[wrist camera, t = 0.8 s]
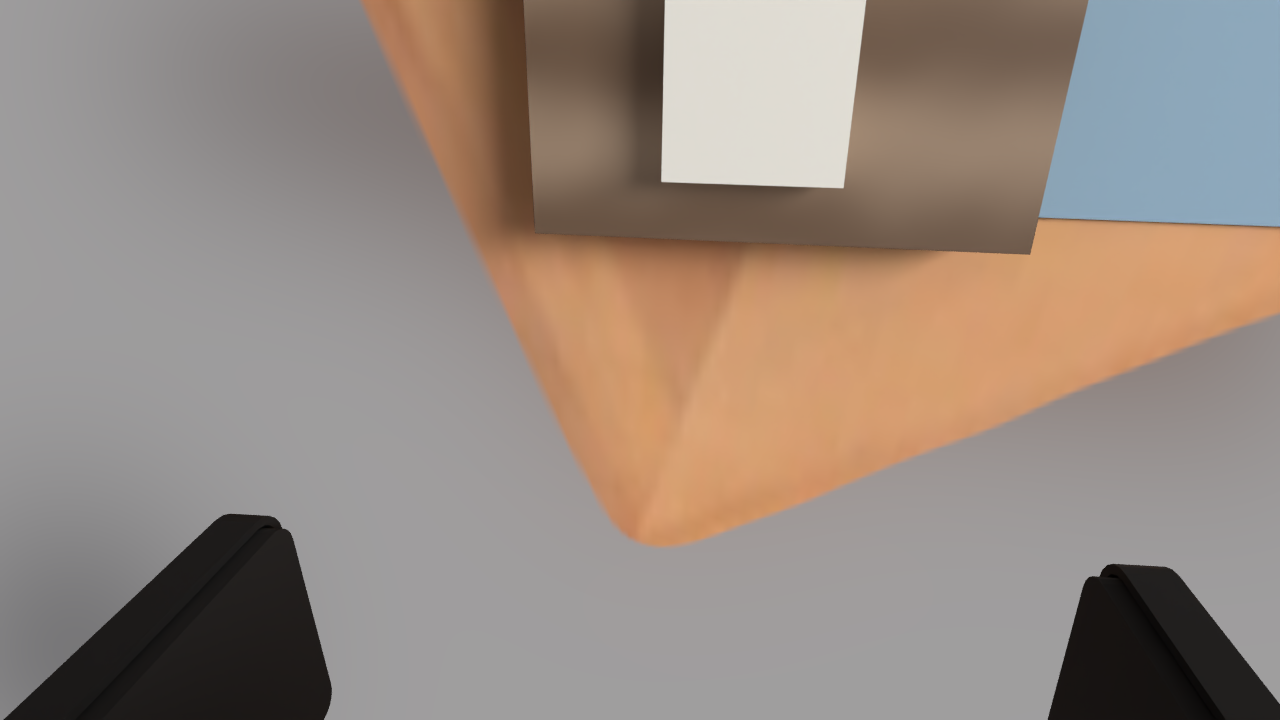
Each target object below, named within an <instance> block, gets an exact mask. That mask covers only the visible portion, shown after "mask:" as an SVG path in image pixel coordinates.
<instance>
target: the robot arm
mask: <svg viewBox="0 0 1280 720" xmlns="http://www.w3.org/2000/svg"><path fill="white" fill-rule="evenodd" d="M331 695H332V688H331V682H330V678H329V675H328V671H327V667H326V663H325V659H324V655H323V652H322V648H321V644H320V640H319V636H318V632H317V629H316V625H315V621H314V617H313V614H312V609H311V606H310V602H309V598H308V594H307V590H306V587H305V583H304V580H303V575H302V571H301V567H300V564H299V560H298V556H297V552H296V548H295V545H294V541H293V538H292V535H291V533H290V532H289V531H288V530H286V529H282V527H281V525H280V522H279V521H278V520H277V519H276V518H274V517H271V516H260V515H242V514H227V515H223V516H221V517H220V518H218V519H217V520H216V521H214V522H213V523H212V524H211V525H210V526H209V527H208V528H207V529H206V530H205V531H204V532H203V533H202V534H201V535H200V536H198V538H196V539H195V540H194V541H193V542H192V543H191V544H190V545H189V546H188V547H187V548H186V549H185V550H184V551H183V552H181V553H180V554H179V555H178V556H177V557H176V558H175V559H174V560H173V561H172V562H171V563H170V564H169V565H168V566H167V567H166V568H165V569H163V570H162V571H161V572H160V573H159V574H158V575H157V576H156V577H155V578H154V579H153V580H152V581H151V582H150V583H148V584H147V585H146V586H145V587H144V588H143V589H142V590H141V591H140V592H139V593H138V594H137V595H136V596H135V597H134V598H133V599H132V600H131V601H129V602H128V603H127V604H126V605H125V606H124V607H123V608H122V609H121V610H120V611H119V612H118V613H117V614H116V615H115V616H113V617H112V618H111V619H110V620H109V621H108V622H107V623H106V624H105V625H104V626H103V627H102V628H101V629H100V630H98V631H97V632H96V633H95V634H94V635H93V636H92V637H91V638H90V639H89V640H88V641H87V642H86V643H85V644H84V645H83V646H81V647H80V648H79V649H78V650H77V651H76V652H75V653H74V654H73V655H72V656H71V657H70V658H69V659H68V660H67V661H66V662H64V663H63V665H61V666H60V667H59V668H58V669H57V670H56V671H55V672H54V673H53V674H52V675H51V676H50V677H49V678H48V679H46V680H45V681H44V682H43V683H42V684H41V685H40V686H39V687H38V688H37V689H36V690H35V691H34V692H33V693H31V695H29V696H28V697H27V698H26V699H25V700H24V701H23V702H22V703H21V704H20V705H19V706H18V707H17V708H16V709H15V710H13V711H12V712H11V713H10V714H9V715H8V716H7V717H6V718H5V719H4V720H324V718H325V716H326V714H327V712H328V709H329V706H330V701H331ZM1048 720H1280V704H1279V703H1278V702H1277V700H1276V699H1275V698H1274V696H1273V695H1272V694H1271V692H1270V691H1269V690H1268V689H1267V687H1266V686H1265V685H1264V684H1263V682H1262V681H1261V680H1260V679H1259V677H1258V676H1257V675H1256V673H1255V672H1254V671H1253V669H1252V668H1251V667H1250V666H1249V664H1248V663H1247V662H1246V661H1245V660H1244V658H1243V657H1242V656H1241V654H1240V653H1239V652H1238V651H1237V649H1236V648H1235V647H1234V645H1233V644H1232V643H1231V641H1230V640H1229V639H1228V638H1227V636H1226V635H1225V634H1224V633H1223V631H1222V630H1221V629H1220V627H1219V626H1218V625H1217V624H1216V622H1215V621H1214V620H1213V618H1212V617H1211V616H1210V615H1209V614H1208V612H1207V611H1206V610H1205V608H1204V607H1203V606H1202V604H1201V603H1200V602H1199V601H1198V599H1197V598H1196V597H1195V595H1194V594H1193V593H1192V592H1191V590H1190V589H1189V588H1188V587H1187V585H1186V584H1185V583H1184V581H1183V580H1182V579H1181V578H1180V576H1179V575H1178V574H1177V573H1175V572H1174V571H1173V570H1172V569H1170V568H1167V567H1158V566H1140V565H1123V564H1110V565H1107V566H1106V567H1105V568H1104V569H1103V570H1102V572H1101V575H1100V577H1095V576H1092V577H1089V578H1088V579H1087V580H1086V581H1085V584H1084V586H1083V590H1082V593H1081V597H1080V601H1079V604H1078V608H1077V612H1076V615H1075V619H1074V623H1073V627H1072V630H1071V634H1070V638H1069V642H1068V646H1067V649H1066V653H1065V657H1064V661H1063V664H1062V668H1061V672H1060V675H1059V679H1058V683H1057V687H1056V691H1055V694H1054V698H1053V702H1052V705H1051V709H1050V713H1049V717H1048Z"/></svg>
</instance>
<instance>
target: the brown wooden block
mask: <svg viewBox="0 0 1280 720" xmlns="http://www.w3.org/2000/svg"><path fill="white" fill-rule="evenodd" d="M1088 1H1089V0H866V7H865V15H864V24H863V32H862V40H861V48H860V57H859V65H858V73H857V82H856V90H855V97H854V105H853V113H852V122H851V130H850V138H849V147H848V155H847V163H846V171H845V180H844V188H820V187H791V186H762V185H733V184H704V183H675V182H661V171H662V123H663V59H664V10H665V0H523V2H524V22H525V42H526V62H527V82H528V102H529V123H530V143H531V163H532V183H533V203H534V223H535V233H541V234H564V235H588V236H611V237H634V238H657V239H680V240H703V241H726V242H750V243H773V244H796V245H819V246H842V247H865V248H889V249H912V250H935V251H958V252H981V253H1004V254H1028V255H1030V253H1031V248H1032V244H1033V240H1034V235H1035V231H1036V227H1037V222H1038V218H1039V214H1040V209H1041V205H1042V201H1043V196H1044V192H1045V188H1046V183H1047V179H1048V175H1049V170H1050V166H1051V162H1052V157H1053V153H1054V149H1055V144H1056V140H1057V136H1058V131H1059V127H1060V123H1061V118H1062V114H1063V110H1064V105H1065V101H1066V96H1067V92H1068V88H1069V83H1070V79H1071V75H1072V70H1073V66H1074V62H1075V57H1076V53H1077V49H1078V44H1079V40H1080V36H1081V31H1082V27H1083V23H1084V18H1085V14H1086V10H1087V5H1088Z"/></svg>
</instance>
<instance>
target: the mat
mask: <svg viewBox="0 0 1280 720" xmlns="http://www.w3.org/2000/svg"><path fill="white" fill-rule="evenodd" d="M1039 217H1041V218H1068V219H1094V220H1120V221H1147V222H1173V223H1200V224H1226V225H1253V226H1279V227H1280V0H1089V1H1088V5H1087V10H1086V14H1085V18H1084V23H1083V27H1082V31H1081V36H1080V40H1079V44H1078V49H1077V53H1076V57H1075V62H1074V66H1073V70H1072V75H1071V79H1070V83H1069V88H1068V92H1067V96H1066V101H1065V105H1064V110H1063V114H1062V118H1061V123H1060V127H1059V131H1058V136H1057V140H1056V144H1055V149H1054V153H1053V157H1052V162H1051V166H1050V170H1049V175H1048V179H1047V183H1046V188H1045V192H1044V196H1043V201H1042V205H1041V209H1040V214H1039Z"/></svg>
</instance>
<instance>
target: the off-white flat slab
mask: <svg viewBox="0 0 1280 720" xmlns="http://www.w3.org/2000/svg"><path fill="white" fill-rule="evenodd" d="M865 7H866V0H665V10H664V59H663V123H662V171H661V182H675V183H704V184H733V185H762V186H791V187H820V188H844V180H845V171H846V163H847V155H848V147H849V138H850V130H851V122H852V113H853V105H854V97H855V90H856V82H857V73H858V65H859V57H860V48H861V40H862V32H863V24H864V15H865Z"/></svg>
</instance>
